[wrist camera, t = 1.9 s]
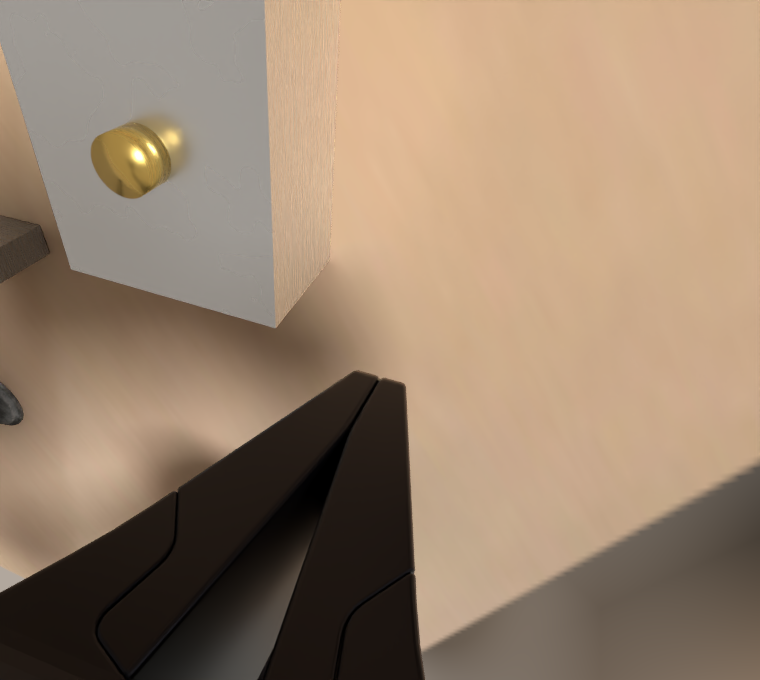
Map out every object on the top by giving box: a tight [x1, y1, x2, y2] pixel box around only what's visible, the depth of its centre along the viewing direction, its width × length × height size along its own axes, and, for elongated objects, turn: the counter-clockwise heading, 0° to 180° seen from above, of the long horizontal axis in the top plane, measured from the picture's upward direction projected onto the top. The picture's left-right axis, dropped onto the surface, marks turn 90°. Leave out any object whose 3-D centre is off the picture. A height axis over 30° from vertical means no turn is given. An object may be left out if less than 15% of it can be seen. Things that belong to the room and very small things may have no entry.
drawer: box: [0, 0, 341, 328], centre depth 17 cm, size 10×9×6 cm
